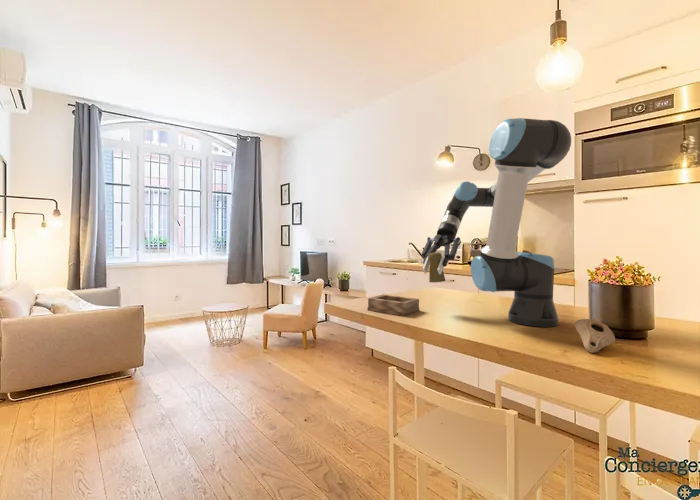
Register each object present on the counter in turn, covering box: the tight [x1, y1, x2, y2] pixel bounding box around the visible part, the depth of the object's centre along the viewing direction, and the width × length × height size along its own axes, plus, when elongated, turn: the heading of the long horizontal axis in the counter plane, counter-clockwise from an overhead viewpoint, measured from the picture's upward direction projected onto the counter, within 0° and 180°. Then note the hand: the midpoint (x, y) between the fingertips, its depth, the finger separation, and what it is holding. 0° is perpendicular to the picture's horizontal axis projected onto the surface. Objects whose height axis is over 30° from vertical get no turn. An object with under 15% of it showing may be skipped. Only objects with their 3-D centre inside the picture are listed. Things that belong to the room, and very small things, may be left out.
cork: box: [428, 251, 446, 283], centre depth 133 cm, size 6×6×11 cm
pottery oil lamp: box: [574, 317, 616, 354], centre depth 92 cm, size 9×12×7 cm
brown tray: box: [367, 293, 420, 317], centre depth 135 cm, size 16×12×4 cm
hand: (431, 271), depth 131 cm, fingers closed on cork, 5 cm apart
